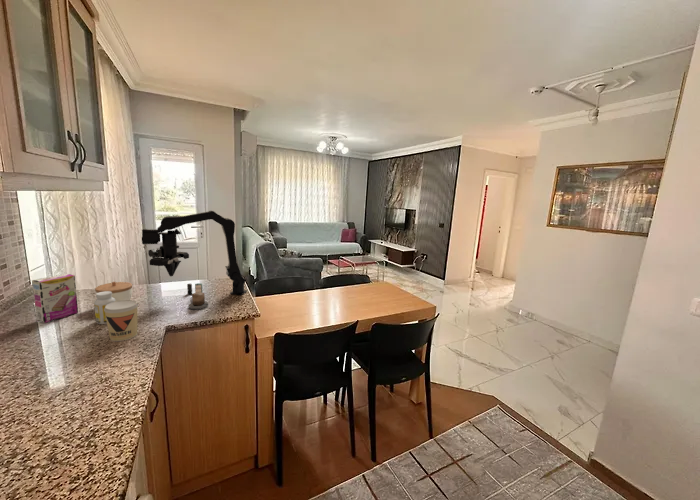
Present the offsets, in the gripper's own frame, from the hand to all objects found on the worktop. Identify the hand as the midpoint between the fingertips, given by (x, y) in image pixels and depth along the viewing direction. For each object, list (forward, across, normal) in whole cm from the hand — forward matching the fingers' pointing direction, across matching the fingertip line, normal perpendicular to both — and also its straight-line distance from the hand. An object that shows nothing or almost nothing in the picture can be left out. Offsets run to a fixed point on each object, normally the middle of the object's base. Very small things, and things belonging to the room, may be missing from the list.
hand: (171, 276), depth 136 cm
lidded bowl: (+12, +12, -18) cm, 25 cm away
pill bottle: (+12, +26, -8) cm, 30 cm away
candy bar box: (+12, +27, -28) cm, 41 cm away
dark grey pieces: (+12, -2, +10) cm, 16 cm away
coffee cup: (+12, +35, +8) cm, 38 cm away
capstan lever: (+10, -2, +12) cm, 16 cm away
